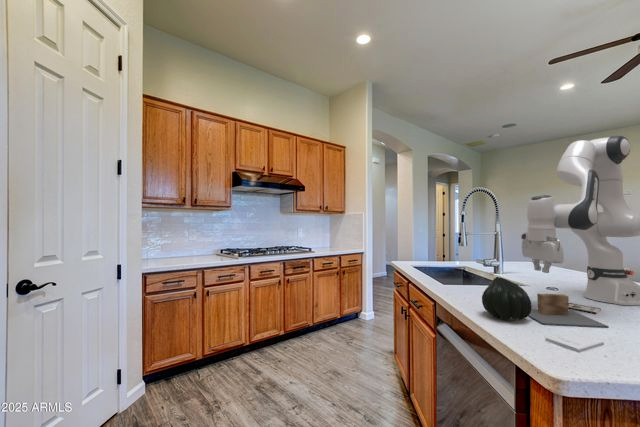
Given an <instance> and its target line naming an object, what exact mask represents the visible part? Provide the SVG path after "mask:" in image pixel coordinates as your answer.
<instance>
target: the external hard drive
mask: <svg viewBox="0 0 640 427" xmlns="http://www.w3.org/2000/svg"><path fill="white" fill-rule="evenodd" d="M544 339H545V342H549V343H551V344H553V345H557V346H561V347H562V348H565V349H568V350H570V351H574V352H576V353H581V352H585V351H587V350H589V351H590V350H592V349H595V348H599V347H602V346H604V345H605V343H604V341H603V340H601V339H597V338H594V337H590V336H587V335H584V334H581V333H577V332H575V331H567V332H564V333H559V334H555V335H553V336H551V335H550V336H548V337H545V338H544ZM598 346H599V347H598Z"/></svg>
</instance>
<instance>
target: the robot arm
mask: <svg viewBox="0 0 640 427" xmlns="http://www.w3.org/2000/svg"><path fill="white" fill-rule="evenodd" d="M630 151H631V143H630V141H629V139H628V138H626V137H625V136H623V135H613V136H609V137H607V136H606V137H600V138H594V139H590V140H586V139H585V140H583V139H580V140H576V141H573V142H572V143H570V144H569V145H568V146H567V147H566V148H565V150H564V151H563V153H562V156H561V158H560V160H559V162H558V164H557V168H556V175H557V177H558V178H559V179H560V180H561V182H564V183H566V184H568V185H572V186H577V187H581V190H580V197H579V198H580V199H579V201H577V202H575V203H563V204H560V203H558V202H557V203H556V202H555V198H554V197H553V195H545V194H544V195H536V196H533V197H531V198H529V200H528V204H527V220H528V225H527V231H525V232H523V233H522V234H521V235H520V238H521V240H522V241H521V252H522V256H523V257H524V258H529V259H532V260H531V261H532V263H533V266H534V267H533V270H535V271H539V272H542V273H544V274H549V273H550V268H551V267H552V265H553V264H563V263H564V261H565V258H564V248H563V245H562V243H561V241H560V240H559V239H558V237H556V234H557V230H556V229H570V230H571V232H572V233H573V234H575V235H577V236H578V237H579V238H580V239H581V241H583V244H584V245H585V247H586V250H587V260H588V262H587V264H588V265H587V267H586V276H587V283H586V288H585V291H584V295H583V297H584V298H586V299H590V300H593V301H598V302H603V303H609V304H615V305H618V306H619V305H620V306H640V284H638V283H636V282H634V281H633V280H631V279H630V278H629V276H633V275H635V271H634V270H629V269H628V270H625V269H624V261H623V260H624V254H623V252H622V250H621V249H620V247H617V246H615V245H612V244H611V243H610V242H609V241H608V240H607V237H608V238H633V237H634V238H635V237H639V236H640V213H638V212H636V211H634V210H633V209H631V207H630V206H629V205H628V204H627V202H626V200H625V198H624V187H623V185H624V184H623V182H624V181H623V180H624V178H623V177H624V176H623V170H622V165H621V164H622V162H623V160H625V159H627V157H628V156H629V154H630ZM598 205H599V206H600V207H601V208H602V211H603V212H601V211H598ZM541 261H542V263H543V267H542V265H541V264H540V262H541Z"/></svg>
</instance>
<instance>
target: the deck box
mask: <svg viewBox="0 0 640 427" xmlns="http://www.w3.org/2000/svg"><path fill="white" fill-rule="evenodd" d="M569 298H570V297H569V295H566V294H560V293H559V294H557V293H537V309H538V313H540V314H546V315H568V316H569V311H570V309H569V303H570V302H569Z"/></svg>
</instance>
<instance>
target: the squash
mask: <svg viewBox="0 0 640 427" xmlns="http://www.w3.org/2000/svg"><path fill="white" fill-rule="evenodd" d="M481 303H482V304H481V305H482V307H483V308H484V310H485V311H486V312H487V313H488V314H490V316H492V317H493V318H496V319H501V320H503V321H509V320H511V319H512V320H523V319H527V318H529V317H528V316H529V314H530V313H531V309H533V308H532V300H531V298H530V296H529V295H528V293H527V292H526V290H525V289H523V287H521V286H520V285H518V284H517V283H514V282H512V281H510V280H508V279H506V278H503V277H500V276H499V277H498V276H495V277H494V278H493V279H492V281H491V282H490V283H489V285H488V286H487V287H486V288H485V290H484V291H483V292H482V296H481Z"/></svg>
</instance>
